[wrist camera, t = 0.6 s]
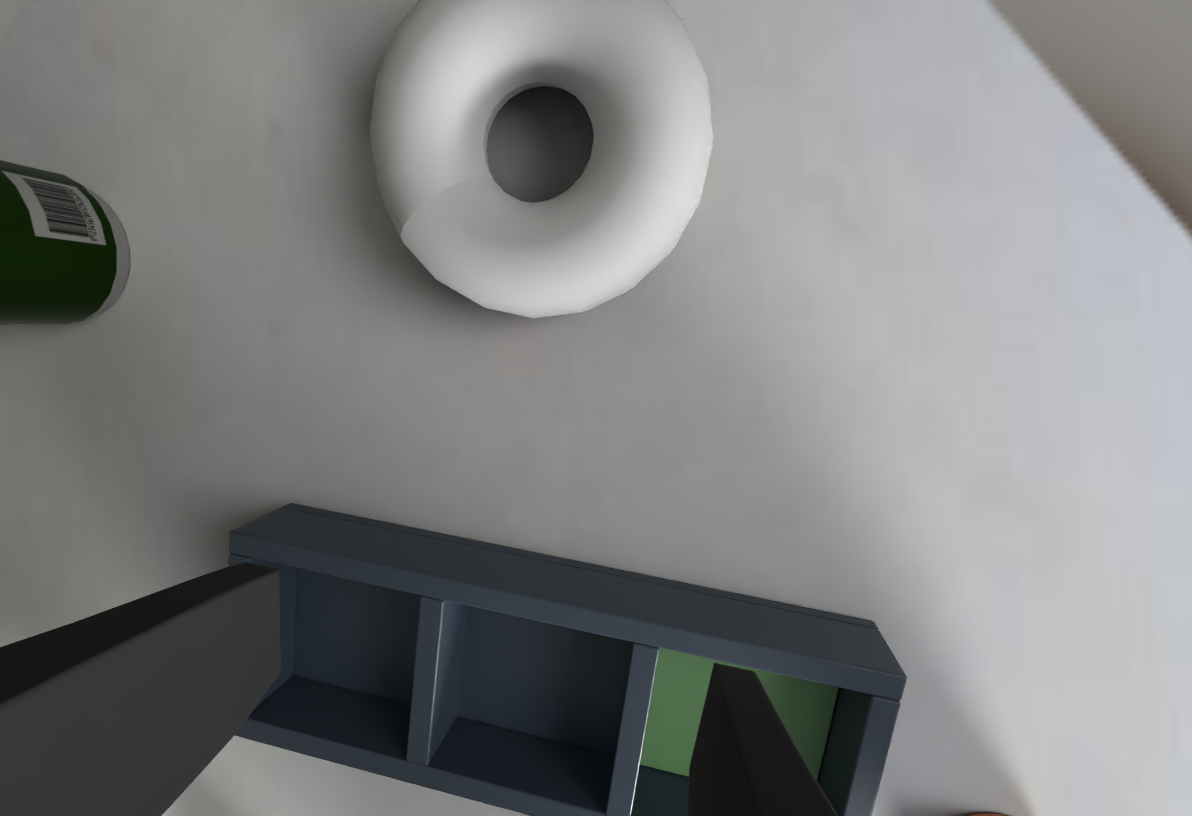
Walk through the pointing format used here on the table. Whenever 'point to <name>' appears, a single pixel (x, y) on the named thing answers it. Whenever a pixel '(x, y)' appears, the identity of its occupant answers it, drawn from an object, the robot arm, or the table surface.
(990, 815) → the salt shaker
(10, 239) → the beer can
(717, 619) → the tray
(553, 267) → the donut
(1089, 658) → the table surface
